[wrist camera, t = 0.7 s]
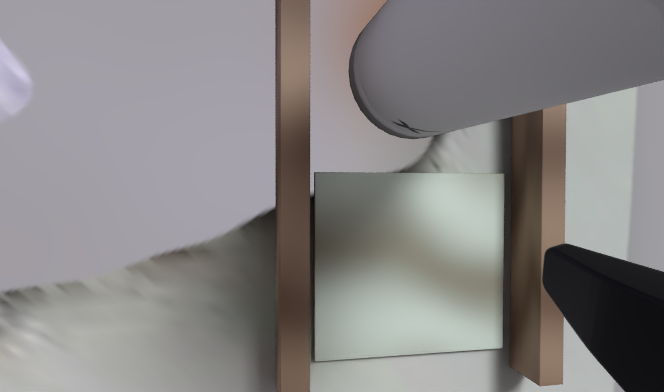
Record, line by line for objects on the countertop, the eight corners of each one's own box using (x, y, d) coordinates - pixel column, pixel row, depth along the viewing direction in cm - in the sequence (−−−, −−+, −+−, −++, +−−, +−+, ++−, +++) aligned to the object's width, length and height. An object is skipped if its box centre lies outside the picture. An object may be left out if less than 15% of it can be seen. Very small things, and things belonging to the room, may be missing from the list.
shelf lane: (530, 364, 25) (620, 419, 19) (275, 385, 23) (291, 455, 17) (535, -38, 25) (629, -107, 19) (275, -66, 22) (291, -156, 16)
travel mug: (398, 170, 24) (1200, 104, 4) (321, 54, 23) (873, -745, 3) (495, 99, 25) (1522, -232, 5) (425, -15, 24) (1339, -955, 4)
